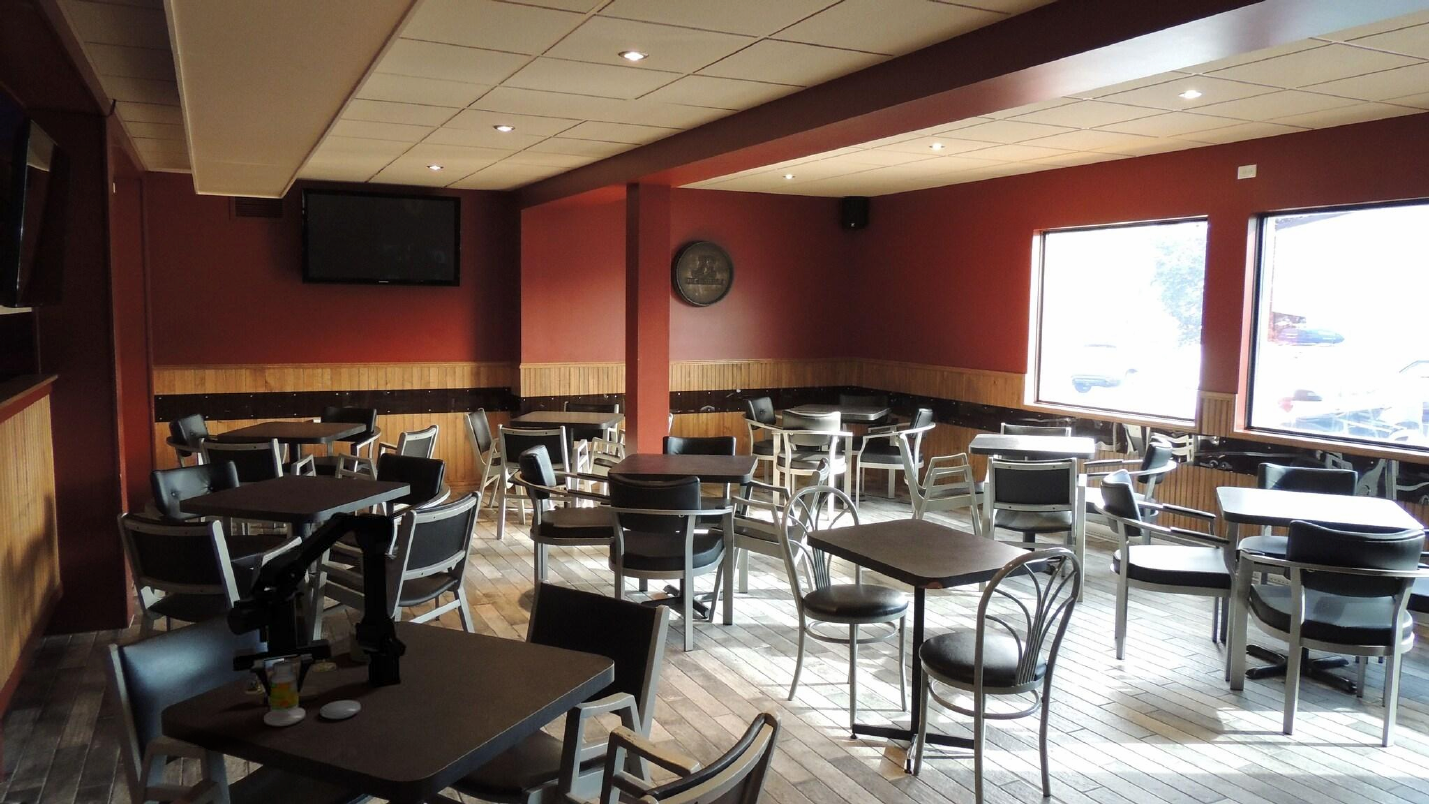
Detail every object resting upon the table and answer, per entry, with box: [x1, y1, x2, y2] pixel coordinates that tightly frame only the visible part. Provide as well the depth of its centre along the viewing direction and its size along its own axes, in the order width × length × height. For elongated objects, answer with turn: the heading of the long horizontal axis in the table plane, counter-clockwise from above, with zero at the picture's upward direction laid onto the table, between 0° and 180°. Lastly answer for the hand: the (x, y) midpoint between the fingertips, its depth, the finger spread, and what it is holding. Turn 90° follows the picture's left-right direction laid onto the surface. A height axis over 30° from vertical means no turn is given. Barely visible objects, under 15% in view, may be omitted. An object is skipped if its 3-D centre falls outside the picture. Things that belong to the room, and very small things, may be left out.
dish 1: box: [263, 706, 306, 727], centre depth 213 cm, size 8×8×1 cm
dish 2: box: [320, 699, 361, 720], centre depth 216 cm, size 8×8×1 cm
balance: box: [244, 659, 337, 706], centre depth 225 cm, size 19×6×9 cm, turn 115°
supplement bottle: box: [269, 659, 299, 712], centre depth 212 cm, size 5×5×10 cm
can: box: [348, 621, 400, 663], centre depth 253 cm, size 12×12×7 cm
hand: (284, 694), depth 212 cm, fingers closed on supplement bottle, 5 cm apart
